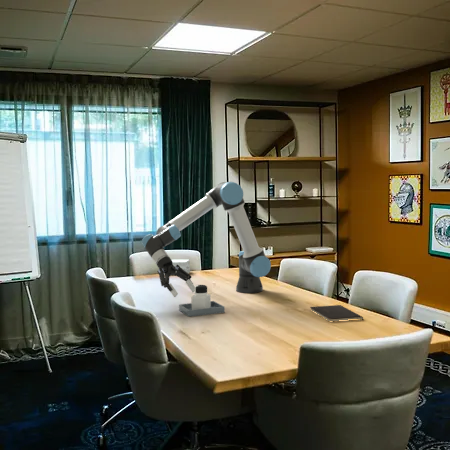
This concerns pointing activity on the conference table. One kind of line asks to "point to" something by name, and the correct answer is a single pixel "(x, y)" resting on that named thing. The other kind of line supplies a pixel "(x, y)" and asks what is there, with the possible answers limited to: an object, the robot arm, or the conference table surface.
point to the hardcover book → (335, 313)
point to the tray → (213, 310)
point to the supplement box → (182, 264)
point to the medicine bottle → (200, 298)
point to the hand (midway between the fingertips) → (185, 293)
